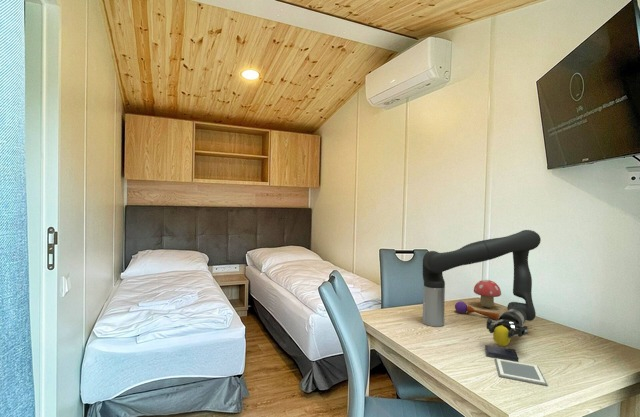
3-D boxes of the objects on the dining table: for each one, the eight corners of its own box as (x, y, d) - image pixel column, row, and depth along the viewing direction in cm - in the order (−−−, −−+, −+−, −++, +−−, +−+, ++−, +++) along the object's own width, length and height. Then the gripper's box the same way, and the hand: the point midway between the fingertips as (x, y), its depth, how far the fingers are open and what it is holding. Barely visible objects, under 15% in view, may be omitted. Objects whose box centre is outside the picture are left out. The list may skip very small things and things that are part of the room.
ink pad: (486, 356, 118) (486, 352, 118) (484, 347, 126) (484, 344, 126) (518, 362, 114) (518, 357, 114) (514, 352, 122) (514, 348, 122)
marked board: (499, 376, 104) (499, 374, 104) (494, 359, 116) (494, 357, 116) (547, 386, 99) (547, 383, 99) (538, 367, 111) (538, 365, 111)
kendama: (497, 314, 155) (453, 302, 167) (496, 325, 156) (453, 313, 168) (499, 308, 160) (457, 298, 172) (498, 319, 161) (456, 308, 173)
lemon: (490, 344, 123) (490, 322, 123) (504, 343, 123) (504, 322, 123) (499, 350, 117) (499, 328, 117) (513, 350, 118) (514, 327, 117)
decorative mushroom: (471, 303, 186) (471, 276, 186) (497, 305, 183) (497, 278, 183) (475, 310, 173) (476, 281, 173) (504, 312, 170) (504, 283, 170)
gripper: (492, 307, 135) (478, 317, 123) (532, 315, 126) (523, 327, 113) (491, 325, 135) (478, 337, 123) (532, 335, 126) (522, 349, 113)
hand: (500, 332), depth 118 cm, fingers closed on lemon, 5 cm apart
